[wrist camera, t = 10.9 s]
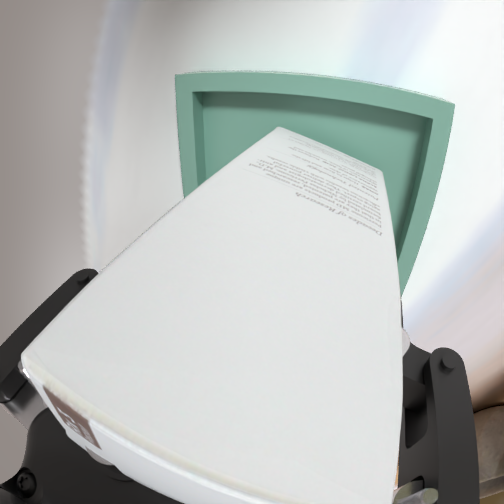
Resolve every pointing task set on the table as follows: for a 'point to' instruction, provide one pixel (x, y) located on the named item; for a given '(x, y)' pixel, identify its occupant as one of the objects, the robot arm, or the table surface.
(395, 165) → the tray
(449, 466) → the robot arm
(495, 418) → the bowl
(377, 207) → the skincare box
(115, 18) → the table surface
